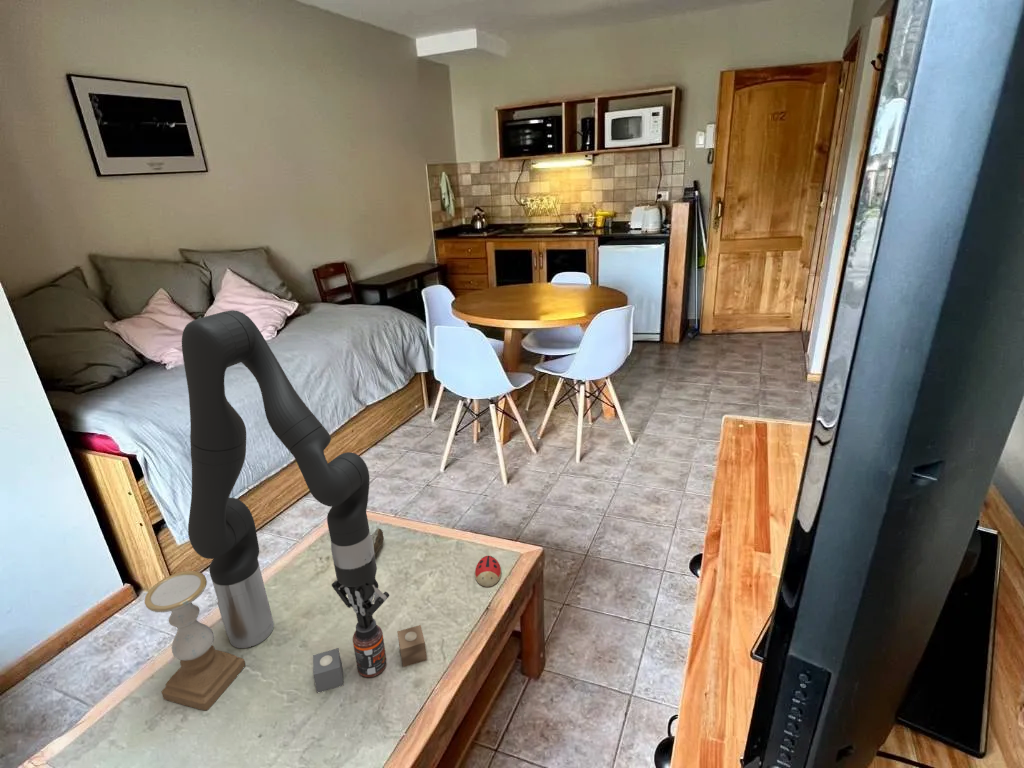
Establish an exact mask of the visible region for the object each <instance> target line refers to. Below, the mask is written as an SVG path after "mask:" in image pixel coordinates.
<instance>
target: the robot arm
mask: <svg viewBox="0 0 1024 768" xmlns="http://www.w3.org/2000/svg"><path fill="white" fill-rule="evenodd" d="M181 351H182V359H183V366H184V371H185V378H186V384H187V391H188V402H189V403H188V404H189V418H190V421H189V422H190V433H189V434H190V436H189V439H190V443H189V444H190V460H191V496H190V497H191V499H190V500H191V501H190V506H189V515H188V524H187V535H188V540H189V542H190V543H189V544H191V546H192V548H193V550H194V551H195V552H196V554H198V555H199V556H200V557H202V558H204V559H207V560H210V559H211V563H210V565H209V575H210V578H211V582H212V585H213V589H214V592H215V596H216V598H217V607H218V611H219V614H220V617H221V620H222V624H223V628H224V630H225V634H226V636H227V637H228V641H229V642H230V644H231V646H232V647H235V648H237V649H247V648H251V646H252V647H254V646H257V645H259V644H261V643H262V642H263V641H265V640H266V639H268V637H269V636H270V635H271V634H272V632H273V630H274V628H275V626H274V625H275V624H274V619H273V616H272V610H271V606H270V603H269V602H270V601H269V598H268V595H267V591H266V587H265V582H264V579H263V575H262V571H261V567H260V564H259V563H260V562H259V560H258V559H259V555H260V546H259V540H258V534H257V529H256V528H257V527H256V523H255V520H254V516H253V514H252V512H251V509H249V508H248V506H247V504H245V503H244V502H243V501H242V500H240V499H238V498H236V497H230V496H231V493H232V492H233V489H234V487H235V485H236V482H237V481H238V478H239V476H240V474H241V472H242V470H243V467H244V463H245V459H246V456H247V455H246V453H247V428H246V425H245V422H244V419H243V418H242V417H241V416H240V413H238V412H237V411H236V409H235V408H234V407H233V406H232V405H231V404H230V402H229V401H228V399H227V396H226V388H225V376H226V370H227V368H230V367H233V366H235V365H237V364H241V363H242V364H243V365H244V366H245V367H246V369H247V370H248V371H249V372H250V373H251V374H252V375H253V377H254V379H255V380H256V381H257V383H258V386H259V389H260V393H261V398H262V402H263V408H264V413H265V416H266V420H267V422H268V423H267V424H269V427H270V428H271V430H272V431H273V433H274V435H275V436H276V437H277V438H278V440H279V441H280V442H281V443H282V445H284V446H285V448H286V449H287V450H288V451H289V453H290V454H291V455H292V456H293V457H294V460H295V462H296V464H297V466H298V468H299V471H300V473H301V474H302V475H301V476H302V477H303V479H304V482H305V483H306V484H305V485H306V486H307V488H308V490H309V492H310V493H311V495H312V496H313V498H314V499H315V500H316V501H317V502H319V503H320V504H321V505H323V506H327V507H329V508H330V507H331V508H330V509H329V511H328V512H327V517H326V522H327V527H328V533H329V537H330V547H331V548H330V550H331V555H332V556H331V557H332V562H333V567H334V571H335V575H336V580H334V582H332V583H331V587H332V589H333V590H334V591H335V593H336V594H337V595H338V596H339V598H340V600H341V601H342V602H343V603H344V605H345V606H346V607H347V608H348V609H351V608H352V610H353V612H354V613H355V615H356V621H357V623H359V626H360V627H362V628H365V629H367V627H369V626H370V624H371V623H372V622H373V619H374V617H373V615H374V614H375V613H376V611H378V609H380V607H381V606H382V605H383V604H384V603H385V602H386V600H387V599H389V597H390V593H389V592H387V591H384V592H382V591H381V590H380V589H379V582H378V581H377V579H376V574H377V570H378V568H377V567H378V566H377V560H376V554H375V553H374V547H373V541H372V537H371V535H372V534H371V532H370V526H369V519H368V514H367V510H368V503H369V493H370V482H371V481H370V472H369V469H368V465H367V463H366V462H365V461H364V459H363V458H362V457H361V456H360V455H358V454H357V453H355V452H351V451H349V452H343V453H341V454H339V455H337V456H336V457H335V458H333V459H332V460H331V461H329V462H328V461H327V459H326V454H325V450H326V448H327V447H328V446H329V444H330V443H331V440H332V437H331V434H330V433H329V431H328V430H327V428H325V426H324V425H323V424H322V423H321V422H320V420H319V419H318V418H317V416H315V414H314V413H313V412H312V411H311V410H310V408H309V407H308V406H307V405H306V402H304V401H303V400H302V398H301V397H300V395H299V393H298V392H297V391H296V390H295V388H294V387H293V385H292V383H291V382H290V379H289V378H288V376H287V375H286V374H285V373H286V372H285V371H284V370H283V368H282V366H281V365H280V362H279V361H278V359H277V357H276V356H275V354H274V352H273V351H272V349H271V347H270V346H269V344H268V342H267V341H266V339H265V337H264V335H263V334H262V332H261V331H260V329H259V328H258V327H257V325H256V324H255V323H254V321H253V320H252V319H251V318H250V317H249V316H248V315H247V314H245V313H244V312H242V311H239V310H233V309H231V310H226V311H222V312H218V313H213V314H210V315H206V316H203V317H199V318H196V319H194V320H192V321H190V322H188V323H187V324H186V325H185V327H184V328H183V331H182V336H181Z"/></svg>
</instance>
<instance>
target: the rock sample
mask: <svg viewBox="0 0 1024 768" xmlns="http://www.w3.org/2000/svg"><path fill="white" fill-rule="evenodd" d="M371 537H372V541H373V547H374V553H375V555H377V552H378V551H379V549H380V547H381V546H382V545H383V543H384V541H385V540H384V539H385V536H384V531H383V530H382V529H381V528H380V527H379V528H376V529H375V530H374V532H373V533H372V534H371Z"/></svg>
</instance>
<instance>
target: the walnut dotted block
mask: <svg viewBox="0 0 1024 768" xmlns="http://www.w3.org/2000/svg"><path fill="white" fill-rule="evenodd" d="M396 633H397V640H398V645H399V652H400V658H401V662H402V668H405V667H409V666H412V665H415V664H419V663H423V662H425V661H428V657H427V648H426V640H425V637H424V632H423V629H422V625H421V624H419V625H416V626H412V627H408V628H404V629H401V630H397V632H396Z"/></svg>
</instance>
